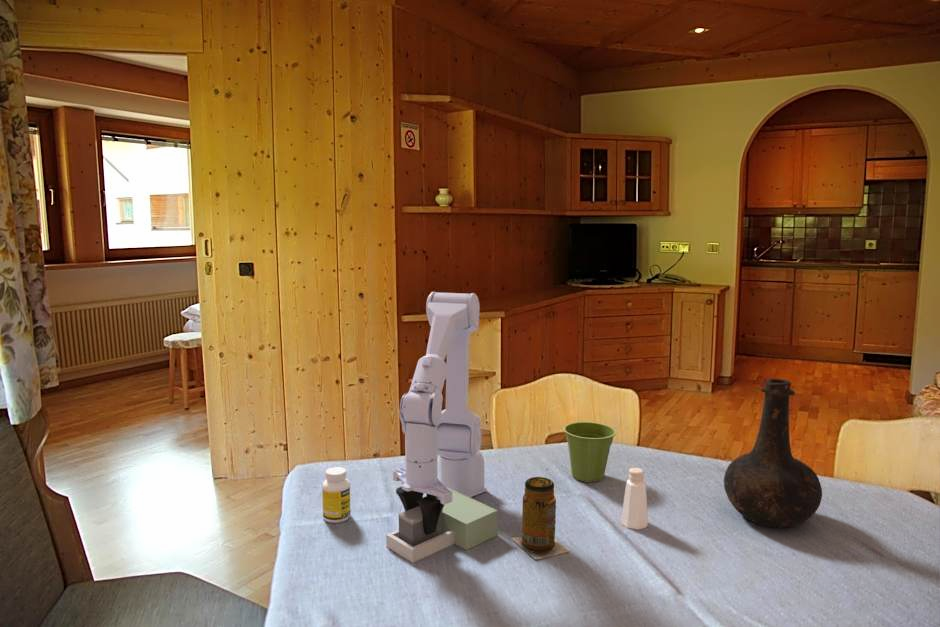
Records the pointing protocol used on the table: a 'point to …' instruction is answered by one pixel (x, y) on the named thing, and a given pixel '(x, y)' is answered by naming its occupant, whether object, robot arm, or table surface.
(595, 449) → the plant pot
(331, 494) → the supplement bottle
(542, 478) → the condiment
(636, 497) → the salt shaker
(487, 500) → the table surface
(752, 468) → the glass bottle
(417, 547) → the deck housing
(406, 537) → the grey rectangular block
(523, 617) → the table surface
